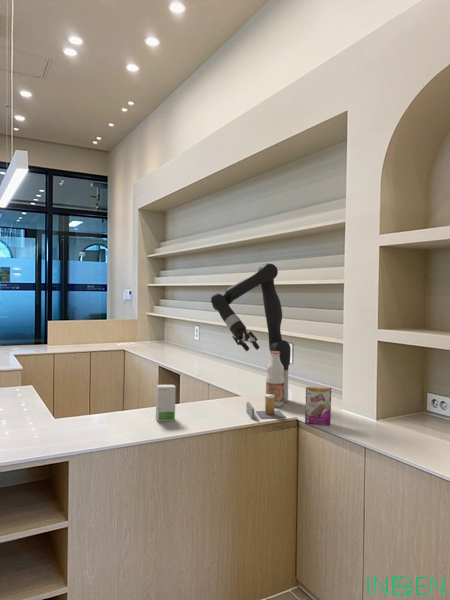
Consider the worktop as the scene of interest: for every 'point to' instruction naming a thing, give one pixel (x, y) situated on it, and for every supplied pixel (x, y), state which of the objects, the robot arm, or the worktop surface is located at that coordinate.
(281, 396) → the fruit juice
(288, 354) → the robot arm
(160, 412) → the skincare box
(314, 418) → the candy bar box
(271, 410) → the amber medicine bottle
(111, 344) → the worktop surface
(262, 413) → the dark slate mat
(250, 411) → the smoky grey acrylic wall
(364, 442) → the worktop surface
